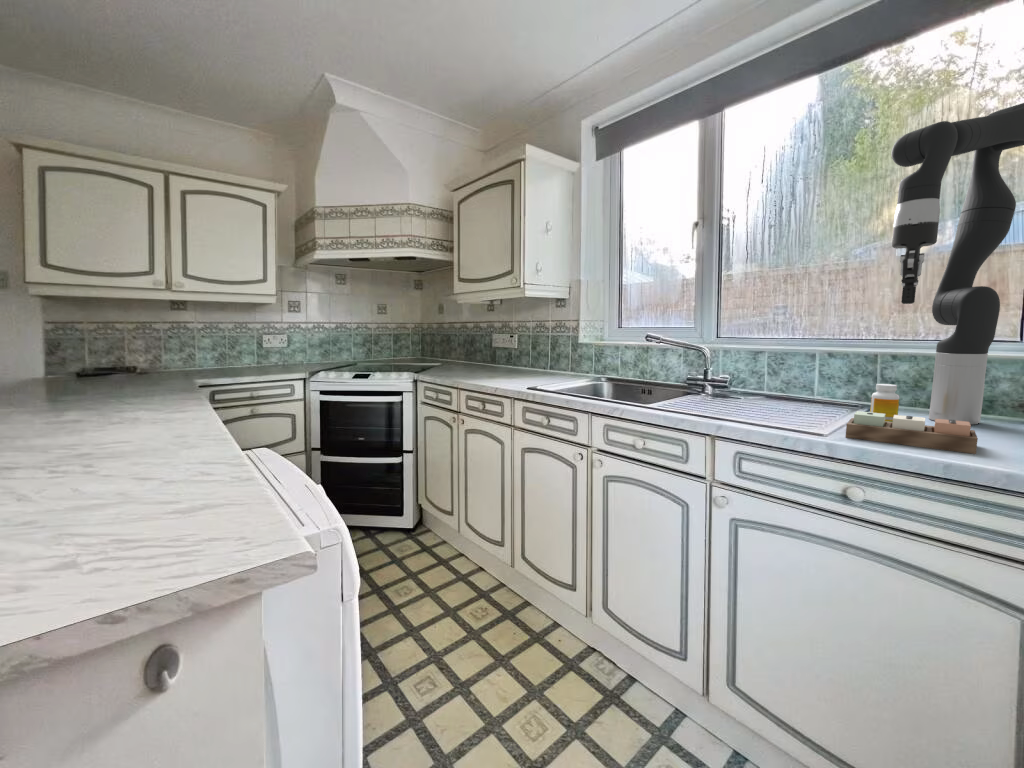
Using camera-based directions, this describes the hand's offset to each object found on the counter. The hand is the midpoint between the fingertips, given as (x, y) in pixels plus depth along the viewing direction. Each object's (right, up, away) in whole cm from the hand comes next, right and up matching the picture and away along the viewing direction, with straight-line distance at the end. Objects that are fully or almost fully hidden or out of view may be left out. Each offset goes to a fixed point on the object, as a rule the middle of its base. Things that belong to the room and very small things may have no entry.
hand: (907, 303), depth 103 cm
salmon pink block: (-1, -30, -11) cm, 32 cm away
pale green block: (-11, -29, -2) cm, 31 cm away
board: (-6, -30, -7) cm, 31 cm away
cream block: (-6, -29, -7) cm, 31 cm away
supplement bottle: (+3, -28, +11) cm, 30 cm away
